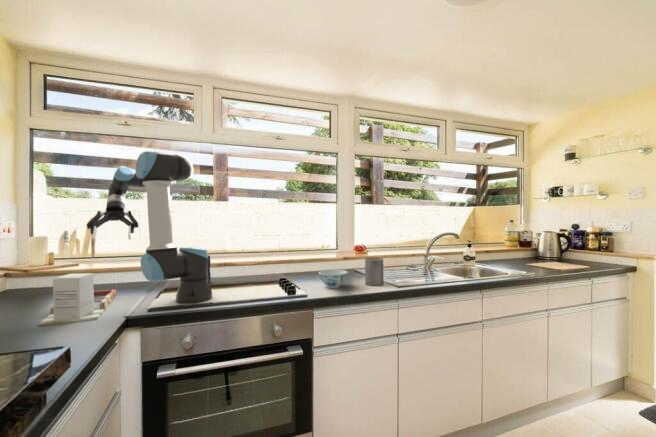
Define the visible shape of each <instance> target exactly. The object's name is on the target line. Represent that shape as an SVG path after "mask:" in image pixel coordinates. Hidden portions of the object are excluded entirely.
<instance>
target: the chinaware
mask: <svg viewBox="0 0 656 437" xmlns="http://www.w3.org/2000/svg"><path fill="white" fill-rule="evenodd" d="M348 272H349V271H347V270H344V269H337V268H336V269H335V268H334V269H331V268H329V269H323V270H322V269H321V270H320V271H318V276H319V279H320V281H321V282H322V283H323V284H324V285H325V286H326V288H328V289H338V288H340V287H341V285H342V284H343V283H344V282H346V279H347V277H348Z"/></svg>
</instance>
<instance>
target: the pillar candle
mask: <svg viewBox="0 0 656 437" xmlns="http://www.w3.org/2000/svg"><path fill="white" fill-rule="evenodd" d="M364 264H365V265H364V267H365V268H364V271H365V273H364V274H365V279H364V281H365V284H364V285H366V286H368V287H369V286H370V287H378V286H379V287H381V286H383V285H384V282H385V281H384V280H385V279H384V258H382V257H375V256H372V257H366V258H365V259H364Z"/></svg>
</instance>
